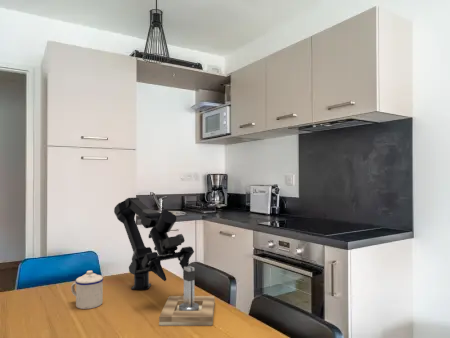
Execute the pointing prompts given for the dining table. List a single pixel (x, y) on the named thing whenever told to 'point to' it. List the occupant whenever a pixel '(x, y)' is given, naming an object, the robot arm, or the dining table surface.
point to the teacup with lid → (88, 290)
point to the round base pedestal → (189, 290)
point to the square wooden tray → (188, 312)
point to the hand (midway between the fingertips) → (177, 277)
